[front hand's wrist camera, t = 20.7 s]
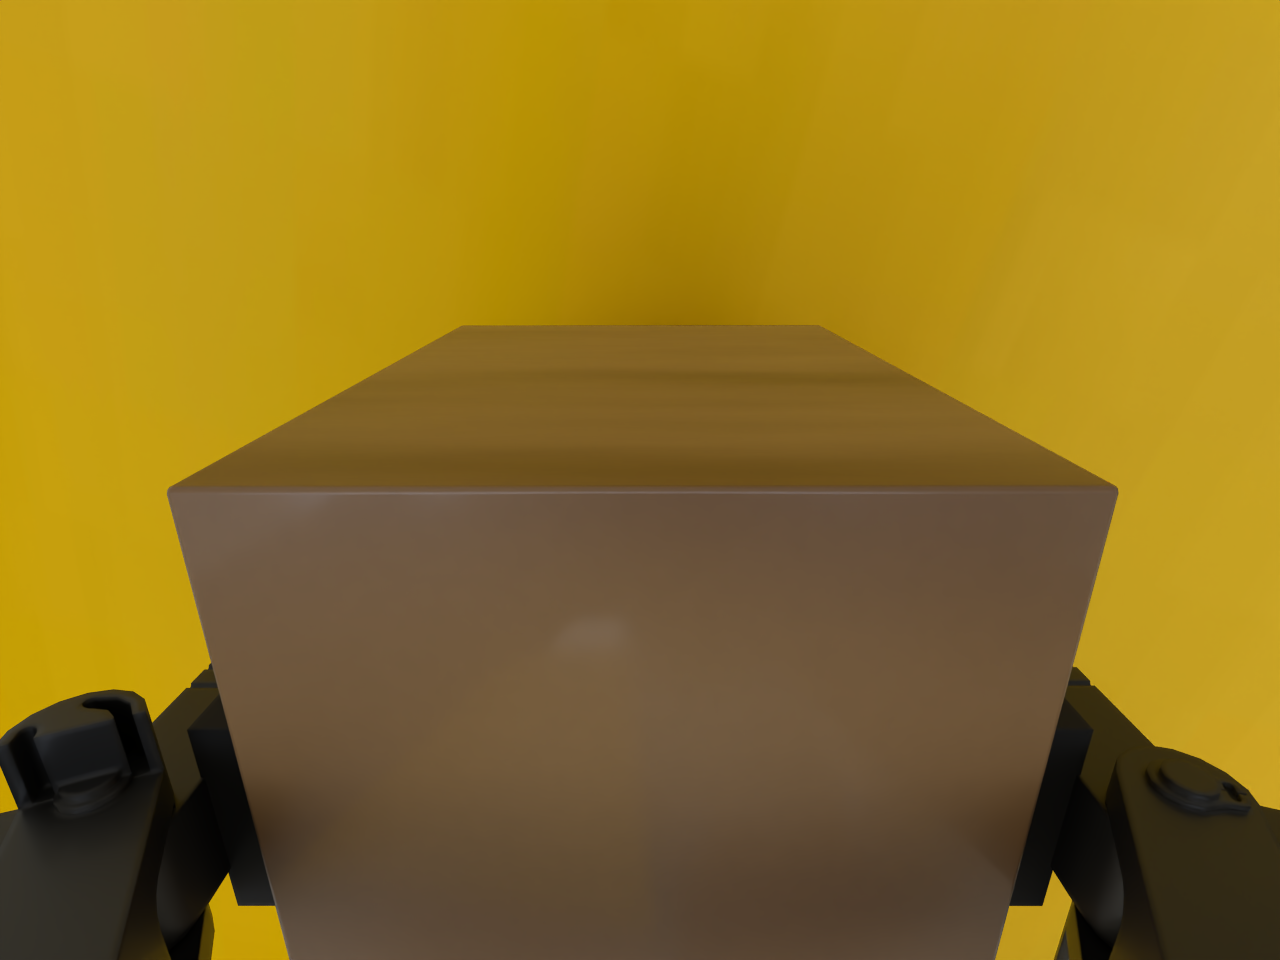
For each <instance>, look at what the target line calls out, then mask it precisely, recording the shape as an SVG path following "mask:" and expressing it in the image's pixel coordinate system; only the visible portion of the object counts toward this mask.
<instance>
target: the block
mask: <svg viewBox="0 0 1280 960" xmlns="http://www.w3.org/2000/svg"><path fill="white" fill-rule="evenodd" d="M167 496H168V500H169V504H170V507H171V511H172V515H173V519H174V523H175V526H176V530H177V534H178V538H179V542H180V545H181V549H182V553H183V557H184V561H185V564H186V568H187V572H188V576H189V580H190V583H191V587H192V591H193V595H194V598H195V602H196V606H197V610H198V614H199V617H200V621H201V625H202V629H203V633H204V636H205V640H206V644H207V648H208V652H209V655H210V659H211V663H212V667H213V671H214V674H215V678H216V682H217V686H218V690H219V693H220V697H221V701H222V705H223V709H224V712H225V716H226V720H227V724H228V728H229V731H230V735H231V739H232V743H233V747H234V750H235V754H236V758H237V762H238V766H239V769H240V773H241V777H242V781H243V784H244V788H245V792H246V796H247V800H248V803H249V807H250V811H251V815H252V819H253V822H254V826H255V830H256V834H257V838H258V841H259V845H260V849H261V853H262V857H263V860H264V864H265V868H266V872H267V876H268V879H269V883H270V887H271V891H272V895H273V898H274V902H275V906H276V910H277V914H278V917H279V921H280V925H281V929H282V933H283V936H284V940H285V944H286V948H287V952H288V955H289V959H290V960H995V957H996V953H997V950H998V946H999V942H1000V938H1001V935H1002V931H1003V927H1004V923H1005V919H1006V916H1007V912H1008V908H1009V904H1010V901H1011V897H1012V893H1013V889H1014V885H1015V882H1016V878H1017V874H1018V870H1019V867H1020V863H1021V859H1022V855H1023V851H1024V848H1025V844H1026V840H1027V836H1028V833H1029V829H1030V825H1031V821H1032V817H1033V814H1034V810H1035V806H1036V802H1037V799H1038V795H1039V791H1040V787H1041V783H1042V780H1043V776H1044V772H1045V768H1046V765H1047V761H1048V757H1049V753H1050V749H1051V746H1052V742H1053V738H1054V734H1055V731H1056V727H1057V723H1058V719H1059V715H1060V712H1061V708H1062V704H1063V700H1064V697H1065V693H1066V689H1067V685H1068V681H1069V678H1070V674H1071V670H1072V666H1073V662H1074V659H1075V655H1076V651H1077V647H1078V644H1079V640H1080V636H1081V632H1082V628H1083V625H1084V621H1085V617H1086V613H1087V610H1088V606H1089V602H1090V598H1091V594H1092V591H1093V587H1094V583H1095V579H1096V576H1097V572H1098V568H1099V564H1100V560H1101V557H1102V553H1103V549H1104V545H1105V542H1106V538H1107V534H1108V530H1109V526H1110V523H1111V519H1112V515H1113V511H1114V508H1115V504H1116V500H1117V496H1118V488H1117V487H1116V486H1115V485H1113V484H1111V483H1109V482H1107V481H1105V480H1103V479H1102V478H1100V477H1098V476H1096V475H1094V474H1092V473H1091V472H1089V471H1087V470H1085V469H1083V468H1081V467H1079V466H1078V465H1076V464H1074V463H1072V462H1070V461H1068V460H1067V459H1065V458H1063V457H1061V456H1059V455H1057V454H1055V453H1054V452H1052V451H1050V450H1048V449H1046V448H1044V447H1043V446H1041V445H1039V444H1037V443H1035V442H1033V441H1031V440H1030V439H1028V438H1026V437H1024V436H1022V435H1020V434H1019V433H1017V432H1015V431H1013V430H1011V429H1009V428H1007V427H1006V426H1004V425H1002V424H1000V423H998V422H996V421H995V420H993V419H991V418H989V417H987V416H985V415H984V414H982V413H980V412H978V411H976V410H974V409H972V408H971V407H969V406H967V405H965V404H963V403H961V402H960V401H958V400H956V399H954V398H952V397H950V396H948V395H947V394H945V393H943V392H941V391H939V390H937V389H936V388H934V387H932V386H930V385H928V384H926V383H924V382H923V381H921V380H919V379H917V378H915V377H913V376H912V375H910V374H908V373H906V372H904V371H902V370H900V369H899V368H897V367H895V366H893V365H891V364H889V363H888V362H886V361H884V360H882V359H880V358H878V357H876V356H875V355H873V354H871V353H869V352H867V351H865V350H864V349H862V348H860V347H858V346H856V345H854V344H852V343H851V342H849V341H847V340H845V339H843V338H841V337H840V336H838V335H836V334H834V333H832V332H830V331H828V330H827V329H825V328H823V327H821V326H819V325H676V326H461V327H459V328H457V329H455V330H453V331H451V332H450V333H448V334H446V335H444V336H442V337H441V338H439V339H437V340H435V341H433V342H432V343H430V344H428V345H426V346H424V347H422V348H421V349H419V350H417V351H415V352H413V353H412V354H410V355H408V356H406V357H404V358H403V359H401V360H399V361H397V362H395V363H394V364H392V365H390V366H388V367H386V368H384V369H383V370H381V371H379V372H377V373H375V374H374V375H372V376H370V377H368V378H366V379H365V380H363V381H361V382H359V383H357V384H356V385H354V386H352V387H350V388H348V389H346V390H345V391H343V392H341V393H339V394H337V395H336V396H334V397H332V398H330V399H328V400H327V401H325V402H323V403H321V404H319V405H318V406H316V407H314V408H312V409H310V410H309V411H307V412H305V413H303V414H301V415H299V416H298V417H296V418H294V419H292V420H290V421H289V422H287V423H285V424H283V425H281V426H280V427H278V428H276V429H274V430H272V431H271V432H269V433H267V434H265V435H263V436H261V437H260V438H258V439H256V440H254V441H252V442H251V443H249V444H247V445H245V446H243V447H242V448H240V449H238V450H236V451H234V452H233V453H231V454H229V455H227V456H225V457H223V458H222V459H220V460H218V461H216V462H214V463H213V464H211V465H209V466H207V467H205V468H204V469H202V470H200V471H198V472H196V473H195V474H193V475H191V476H189V477H187V478H185V479H184V480H182V481H180V482H178V483H176V484H175V485H173V486H171V487H169V489H168V491H167Z"/></svg>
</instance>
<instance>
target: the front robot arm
mask: <svg viewBox="0 0 1280 960" xmlns="http://www.w3.org/2000/svg"><path fill="white" fill-rule="evenodd" d="M0 766H1V769H2V771H3V774H4V776H5V778H6V781H7V783H8V785H9V788H10V790H11V793H12V795H13V797H14V800H15V802H16V804H17V807H18V810H13V811H9V812H4V813H0V960H211V956H212V947H213V939H214V931H215V930H214V924H213V917H212V913H211V910H210V907H209V902H210V900H211V899H212V897H213V896H214V894H215V892H216V891H217V889H218V888H219V886H220V885H221V883H222V881H223V880H224V878H225V877H226V875H227V874H228V873H229V876H230V879H231V883H232V886H233V890H234V893H235V897H236V900H237V903H238V906H275V902H274V898H273V895H272V891H271V887H270V883H269V879H268V876H267V872H266V868H265V864H264V860H263V857H262V853H261V849H260V845H259V841H258V838H257V834H256V830H255V826H254V822H253V819H252V815H251V811H250V807H249V803H248V800H247V796H246V792H245V788H244V784H243V781H242V777H241V773H240V769H239V766H238V762H237V758H236V754H235V750H234V747H233V743H232V739H231V735H230V731H229V728H228V724H227V720H226V716H225V712H224V709H223V705H222V701H221V697H220V693H219V690H218V686H217V682H216V678H215V674H214V671H213V667H212V663H211V664H210V665H209V669H208V670H204V671H203V672H202V673H201V674H200V675H199V676H198V677H197V678H196V679H195V680H194V681H193V682H192V683H191V687H190V688H186V689H185V690H184V691H183V692H182V693H181V694H180V695H179V696H178V697H177V698H176V699H175V700H174V701H173V702H172V703H171V704H170V705H169V706H168V707H167V708H166V709H165V710H164V711H163V712H162V713H161V715H160V716H159V717H158V718H157V719H156V720H155V721H154V722H153V723H152V721H151V718H150V715H149V712H148V708H147V705H146V702H145V699H144V698H142V697H141V696H139V695H138V694H136V693H135V692H133V691H124V690H114V689H113V690H106V691H99V692H91V693H86V694H83V695H80V696H76V697H73V698H70V699H67V700H63V701H60V702H58V703H56V704H53V705H51V706H49V707H47V708H45V709H43V710H41V711H39V712H36V713H34V714H32V715H30V716H29V717H28V718H26V719H25V720H23V721H22V722H20V723H19V724H17V725H16V726H14V727H13V728H11V729H10V730H8V731H7V732H6V734H5V735H4V736H3V737H2V738H1V739H0ZM1052 871H1054V872H1055V874H1056V876H1057V877H1058V879H1059V880H1060V882H1061V883H1062V885H1063V886H1064V888H1065V890H1066V891H1067V893H1068V894H1069V896H1070V897H1071V899H1072V903H1071V907H1070V910H1069V913H1068V916H1067V919H1066V923H1065V926H1064V929H1063V932H1062V935H1061V939H1060V942H1059V945H1058V948H1057V951H1056V955H1055V958H1054V960H1280V810H1276V809H1272V808H1267V807H1263V806H1260V805H1259V804H1258V802H1257V801H1256V800H1255V798H1254V797H1253V796H1252V795H1251V793H1250V792H1249V791H1248V790H1247V789H1246V788H1245V787H1244V786H1242V785H1241V784H1240V783H1238V782H1237V781H1236V780H1235V779H1233V778H1232V777H1231V776H1230V775H1228V774H1227V773H1226V772H1224V771H1222V770H1220V769H1218V768H1216V767H1214V766H1213V765H1211V764H1209V763H1207V762H1205V761H1203V760H1201V759H1199V758H1197V757H1194V756H1191V755H1188V754H1185V753H1182V752H1179V751H1176V750H1174V749H1168V748H1162V747H1155V746H1154V745H1153V744H1152V743H1151V742H1150V741H1149V740H1148V739H1147V738H1146V737H1145V736H1144V735H1143V734H1142V733H1141V732H1140V731H1139V730H1138V729H1137V728H1136V727H1135V726H1134V725H1133V724H1132V723H1131V722H1130V721H1129V720H1128V719H1127V718H1126V717H1125V716H1124V715H1123V714H1122V713H1121V712H1120V711H1119V710H1118V709H1117V708H1116V707H1115V706H1114V705H1113V704H1112V703H1111V702H1110V701H1109V700H1108V699H1107V698H1106V697H1105V696H1104V695H1103V694H1102V693H1101V692H1100V691H1099V690H1098V689H1097V687H1096V686H1091V685H1090V680H1089V679H1088V678H1087V677H1086V676H1085V675H1084V674H1083V673H1082V672H1081V671H1080V670H1079V669H1078V668H1077V667H1073V666H1072V670H1071V674H1070V678H1069V681H1068V685H1067V689H1066V693H1065V697H1064V700H1063V704H1062V708H1061V712H1060V715H1059V719H1058V723H1057V727H1056V731H1055V734H1054V738H1053V742H1052V746H1051V749H1050V753H1049V757H1048V761H1047V765H1046V768H1045V772H1044V776H1043V780H1042V783H1041V787H1040V791H1039V795H1038V799H1037V802H1036V806H1035V810H1034V814H1033V817H1032V821H1031V825H1030V829H1029V833H1028V836H1027V840H1026V844H1025V848H1024V851H1023V855H1022V859H1021V863H1020V867H1019V870H1018V874H1017V878H1016V882H1015V885H1014V889H1013V893H1012V897H1011V901H1010V904H1009V906H1042V905H1043V902H1044V898H1045V895H1046V892H1047V888H1048V885H1049V881H1050V878H1051V874H1052Z"/></svg>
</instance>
